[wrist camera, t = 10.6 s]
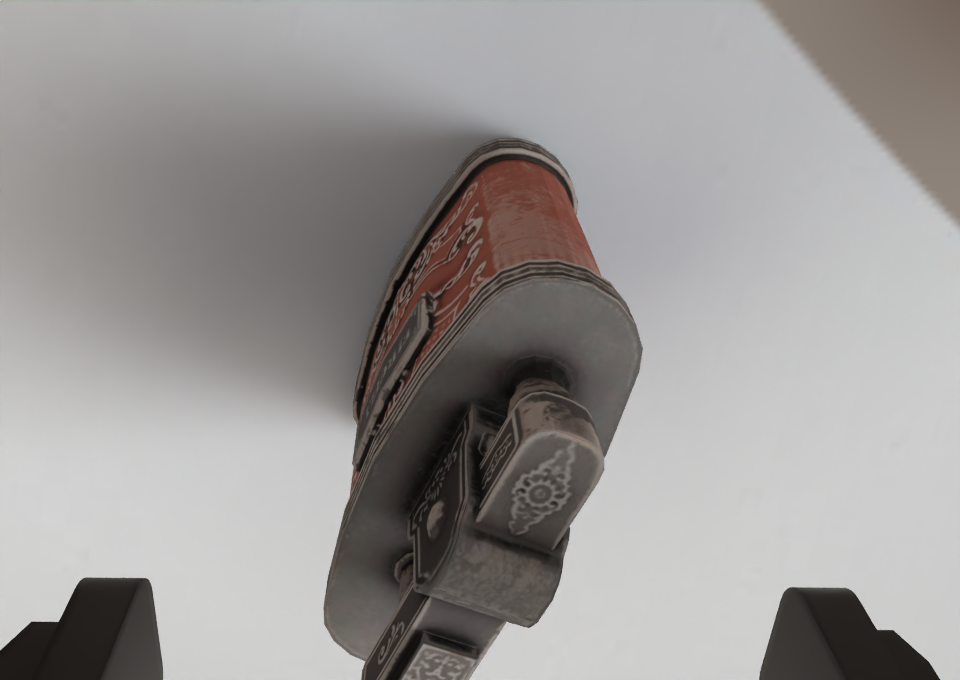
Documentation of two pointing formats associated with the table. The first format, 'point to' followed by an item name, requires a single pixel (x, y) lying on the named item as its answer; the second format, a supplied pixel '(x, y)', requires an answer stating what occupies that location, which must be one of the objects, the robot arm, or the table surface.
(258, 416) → the table surface
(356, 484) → the lighter
